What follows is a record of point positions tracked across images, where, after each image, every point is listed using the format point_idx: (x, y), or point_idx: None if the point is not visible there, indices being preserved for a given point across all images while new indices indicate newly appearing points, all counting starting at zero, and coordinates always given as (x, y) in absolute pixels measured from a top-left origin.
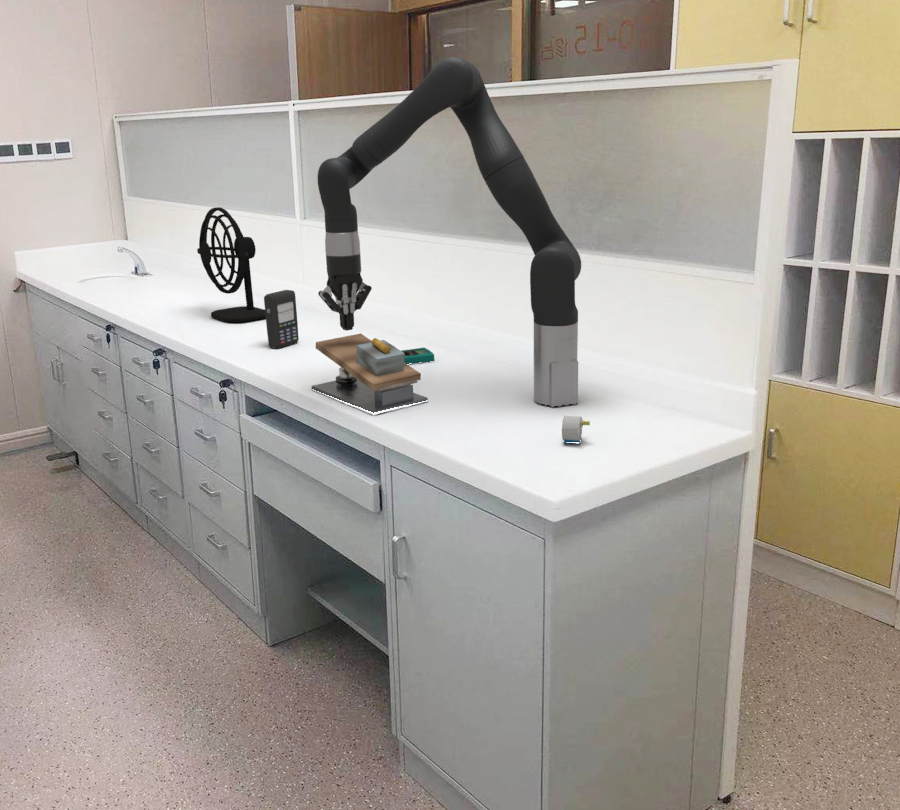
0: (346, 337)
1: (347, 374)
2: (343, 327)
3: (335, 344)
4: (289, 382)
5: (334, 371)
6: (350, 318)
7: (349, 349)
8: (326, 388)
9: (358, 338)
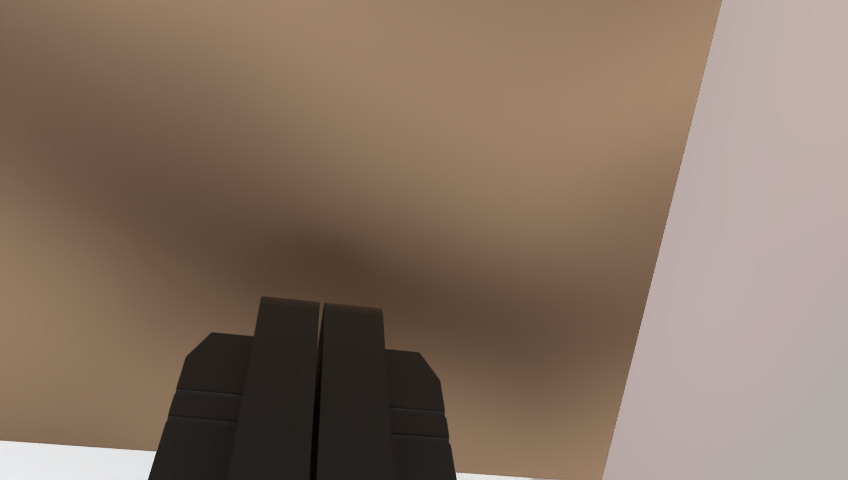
0: None
1: None
2: (420, 380)
3: (460, 321)
4: (475, 475)
5: (132, 471)
6: (283, 439)
7: (415, 101)
8: None
9: (67, 322)
